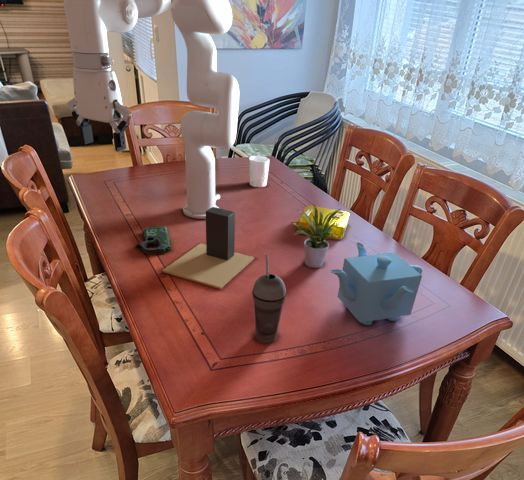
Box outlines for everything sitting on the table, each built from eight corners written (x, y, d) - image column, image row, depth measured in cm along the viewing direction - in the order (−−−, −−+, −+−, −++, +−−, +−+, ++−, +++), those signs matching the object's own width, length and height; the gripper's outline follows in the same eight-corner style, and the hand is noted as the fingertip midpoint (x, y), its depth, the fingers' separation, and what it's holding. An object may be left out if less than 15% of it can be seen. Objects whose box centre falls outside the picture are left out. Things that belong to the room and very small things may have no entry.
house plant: (313, 246, 144) (320, 194, 134) (348, 263, 137) (358, 208, 127) (281, 259, 136) (286, 205, 126) (317, 278, 128) (325, 221, 118)
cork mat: (200, 244, 141) (200, 242, 140) (254, 259, 135) (254, 257, 135) (162, 272, 126) (162, 270, 126) (220, 289, 121) (220, 287, 120)
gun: (134, 227, 145) (167, 225, 147) (135, 231, 145) (167, 230, 148) (136, 250, 132) (172, 248, 134) (137, 255, 133) (172, 253, 135)
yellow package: (305, 216, 163) (307, 203, 160) (348, 223, 160) (350, 210, 157) (296, 233, 151) (297, 219, 148) (341, 241, 149) (344, 226, 146)
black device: (213, 249, 137) (213, 206, 129) (234, 255, 135) (235, 211, 127) (206, 254, 134) (205, 211, 126) (227, 260, 132) (228, 216, 124)
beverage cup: (271, 350, 102) (278, 268, 89) (243, 338, 104) (246, 257, 92) (287, 334, 107) (296, 255, 94) (260, 323, 109) (265, 245, 97)
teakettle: (415, 305, 120) (431, 252, 111) (399, 342, 107) (415, 286, 98) (345, 285, 126) (355, 234, 117) (321, 319, 112) (330, 264, 103)
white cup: (267, 188, 184) (269, 162, 177) (247, 187, 183) (248, 161, 177) (267, 182, 190) (269, 156, 184) (248, 180, 190) (249, 155, 183)
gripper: (136, 64, 99) (144, 149, 110) (73, 56, 105) (86, 137, 115) (112, 68, 94) (123, 156, 104) (47, 58, 99) (64, 143, 110)
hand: (104, 146), depth 110 cm, fingers open, 9 cm apart
